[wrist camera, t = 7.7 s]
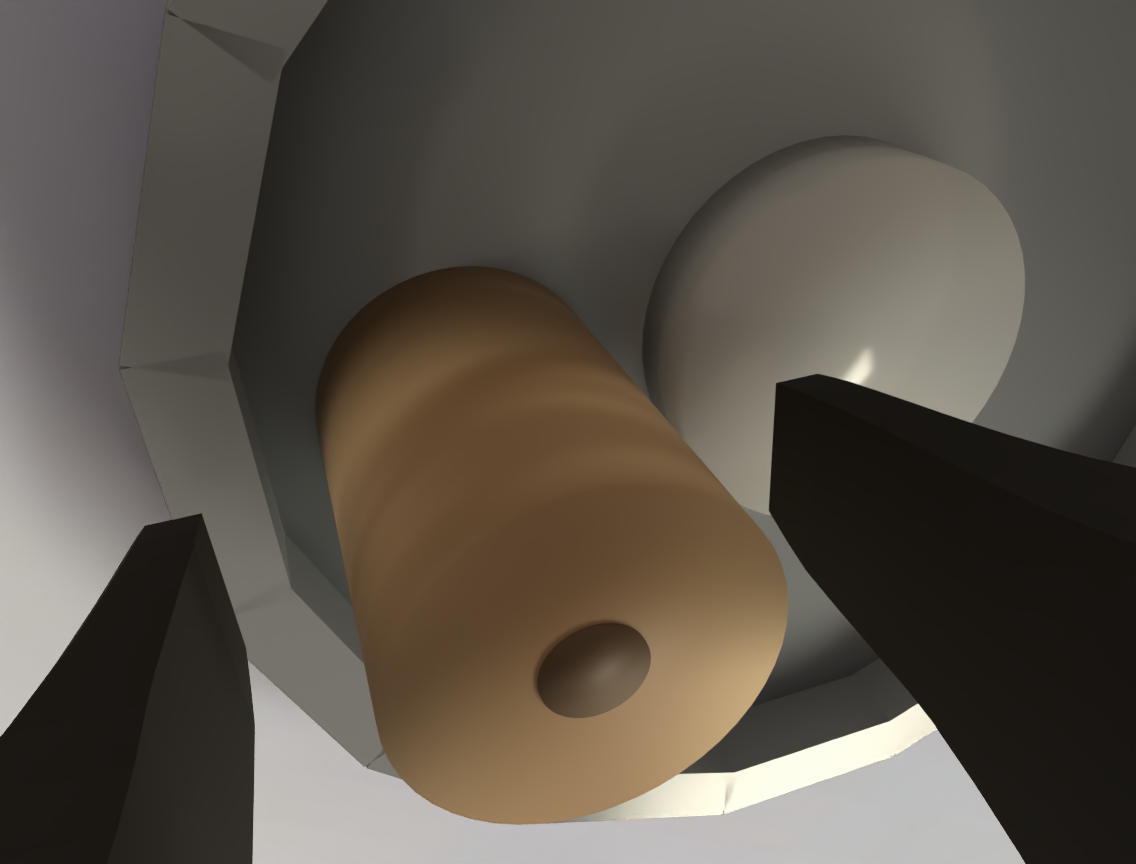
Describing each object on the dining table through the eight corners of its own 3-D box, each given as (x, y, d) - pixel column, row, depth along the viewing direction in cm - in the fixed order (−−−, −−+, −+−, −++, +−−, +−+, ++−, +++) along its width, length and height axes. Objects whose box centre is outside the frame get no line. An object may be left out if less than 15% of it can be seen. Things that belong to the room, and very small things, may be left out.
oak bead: (581, 235, 14) (792, 433, 9) (610, 479, 16) (790, 744, 11) (277, 307, 13) (321, 571, 8) (355, 555, 15) (427, 880, 10)
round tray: (1473, -490, 13) (1660, -544, 12) (1124, 601, 24) (1195, 656, 22) (-145, -523, 9) (-234, -624, 7) (313, 859, 19) (323, 956, 17)
